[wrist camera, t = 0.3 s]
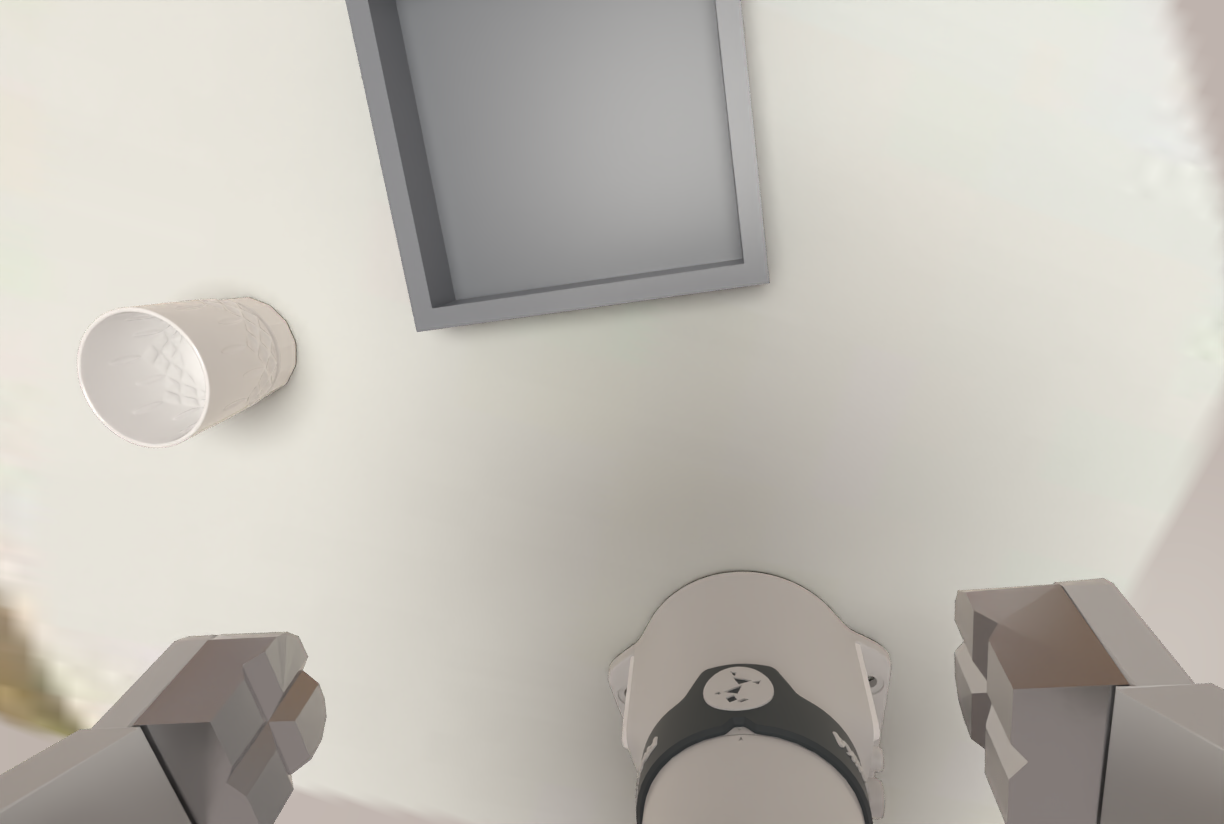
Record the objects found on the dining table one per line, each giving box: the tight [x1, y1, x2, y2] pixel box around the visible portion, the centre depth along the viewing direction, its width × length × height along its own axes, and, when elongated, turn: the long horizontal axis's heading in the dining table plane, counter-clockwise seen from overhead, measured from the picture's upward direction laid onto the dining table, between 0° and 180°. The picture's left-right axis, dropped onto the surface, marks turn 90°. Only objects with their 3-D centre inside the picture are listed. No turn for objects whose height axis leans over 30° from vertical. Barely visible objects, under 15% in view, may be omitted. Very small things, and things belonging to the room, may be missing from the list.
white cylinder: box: [77, 297, 296, 448], centre depth 46 cm, size 8×8×10 cm
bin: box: [345, 0, 770, 332], centre depth 42 cm, size 20×20×5 cm
